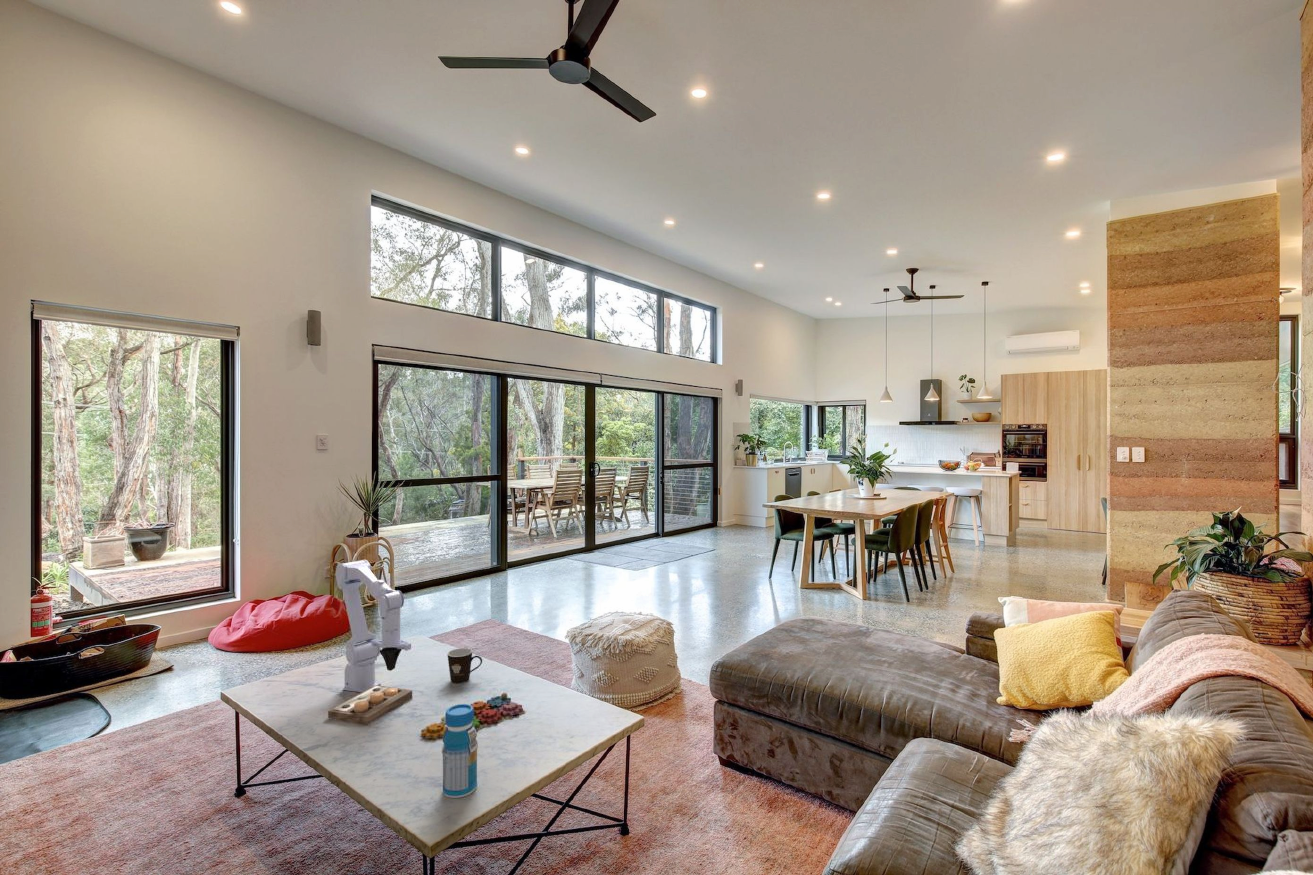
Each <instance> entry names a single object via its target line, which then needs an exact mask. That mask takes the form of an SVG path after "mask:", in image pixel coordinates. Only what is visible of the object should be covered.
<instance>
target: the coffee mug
mask: <svg viewBox="0 0 1313 875" xmlns="http://www.w3.org/2000/svg"><path fill="white" fill-rule="evenodd" d="M446 654H447V661H448V663H447V664H448V668H449V669H448V671H449V678H450V683H452V684H455V685H457V684H464V682H465V683H467V682H469V681H470V676H471V675H470V674H471V673H472V672H474V671H475V670H477V669H479V667H481V665H482V663H483V658H482V657H481V656H480V655H474V656H473V649H472V648H469V647H468V648H467V647H459V648H455V649H452V650H449V651H448V652H447V653H446ZM475 658H476V659H477V658H478V659H479V661H480V663H479V664H478V665H477V666H476V667H475V668H473V669H472V668H471V666H472V661H473V660H474V659H475Z"/></svg>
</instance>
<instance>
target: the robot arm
mask: <svg viewBox="0 0 1313 875" xmlns="http://www.w3.org/2000/svg"><path fill="white" fill-rule="evenodd" d="M371 568H372V567H371V563H370V562H369V561H368V560H367V559H360V560H355V561H350V562H349V561H348V562H345V563H343V562H342V563H339V564H338V565H337V566H336V568H335V578H336V583H337V587H338V589H339V590H342V594H343V599H344V603H345V609H346V614H347V616H348V621H349V628H350V630H351V637H350V639H348V640H347V642H346V644H345V657H346V660H347V663H346V665H345V667H344V687H343V688H342V690H343V691H349V692H355V693H362V692H364V691H366V690H367V689H369V688H371V687H373V686H375V685H379V686H381V684H382V683H381V682H380V681H376V661H377V660H378V657H379V656H380V655H381V657H382V659H383V661H384V664H385V666H386V670H387V671H390V672H391V671H393V670H395V669H396V664H397V661H398V659H399V656H400V654H401V652H402V650H404V651H410V650H412V643H411V642H407V641H405V640H402V639H401V608H402V607H404V605H405V604H404V603H405V597H404V594H403V592H402V591H401V590H398V589H397V590H396V589H392V587H391V586H390V585H388V584H387V583H386V581H384V580H383V579H378V578H377V577H376V576H375V574H374V573H373V571H371V570H372V569H371ZM363 584H364V585H365V586H366V587H368V593H369V594H370V595H371V597H372V598H374V600H376V602H377V606H378V607H377V608H378V609H379V616H380V617H381V638H378V637H377V635H376V634H375V633H372V632H371V631H369V628H368V625H367V621H366V620H367V619H366V616H365V612H364V607H363V602H362V598H361V594H360V589H359V588H360V587H361V586H362V585H363Z"/></svg>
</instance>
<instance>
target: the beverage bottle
mask: <svg viewBox="0 0 1313 875" xmlns="http://www.w3.org/2000/svg"><path fill="white" fill-rule="evenodd" d="M444 717H446V725H445V726H447V728H446V730H445V732H444V735H443V737H442V739H441V740H442V743H443V744H442V747H441V754H442V793H443V795H444V796H446V797H448V798H452V799H459V798H463V797H464V798H465V797H466V796H467V797H468V796H469V795H470V794H472V793H473V792H474V791H475V790H476V789H477V786H478V744H479V743H478V740H477V737H478V730H477V731H476V729H475V727H474V725H473V724H472V723H473V720H474V708H473V706H471V704H469V703H459V704H454V705H452V706H450V707H448V708H447V709H446V710H445V716H444Z"/></svg>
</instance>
